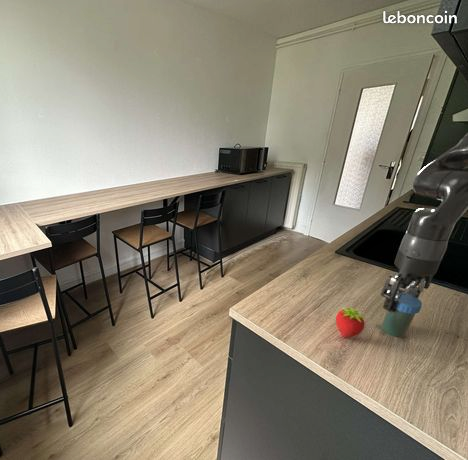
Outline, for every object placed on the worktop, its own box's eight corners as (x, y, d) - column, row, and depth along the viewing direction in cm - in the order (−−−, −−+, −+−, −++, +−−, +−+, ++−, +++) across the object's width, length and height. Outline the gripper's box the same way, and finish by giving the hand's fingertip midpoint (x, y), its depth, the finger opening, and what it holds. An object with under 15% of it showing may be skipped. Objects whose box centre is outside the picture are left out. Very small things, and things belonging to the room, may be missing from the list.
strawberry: (357, 331, 68) (367, 301, 64) (359, 351, 62) (371, 320, 58) (331, 324, 71) (339, 294, 67) (331, 342, 65) (340, 311, 61)
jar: (396, 324, 70) (408, 294, 66) (410, 338, 65) (424, 307, 61) (376, 323, 71) (387, 294, 67) (389, 337, 66) (401, 306, 62)
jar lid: (423, 316, 61) (426, 309, 60) (391, 310, 64) (394, 302, 63) (413, 302, 66) (416, 295, 65) (385, 296, 69) (387, 289, 68)
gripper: (420, 240, 66) (400, 291, 72) (382, 250, 62) (365, 304, 68) (459, 253, 59) (434, 308, 65) (419, 265, 55) (397, 322, 61)
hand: (399, 306), depth 67 cm, fingers open, 8 cm apart
